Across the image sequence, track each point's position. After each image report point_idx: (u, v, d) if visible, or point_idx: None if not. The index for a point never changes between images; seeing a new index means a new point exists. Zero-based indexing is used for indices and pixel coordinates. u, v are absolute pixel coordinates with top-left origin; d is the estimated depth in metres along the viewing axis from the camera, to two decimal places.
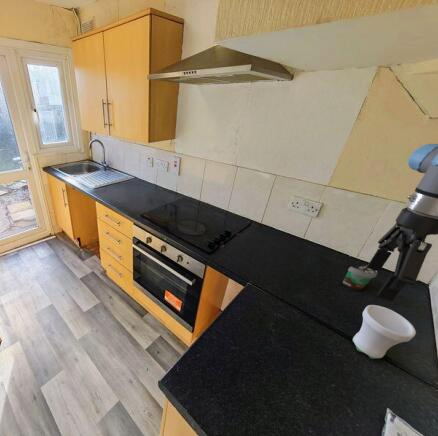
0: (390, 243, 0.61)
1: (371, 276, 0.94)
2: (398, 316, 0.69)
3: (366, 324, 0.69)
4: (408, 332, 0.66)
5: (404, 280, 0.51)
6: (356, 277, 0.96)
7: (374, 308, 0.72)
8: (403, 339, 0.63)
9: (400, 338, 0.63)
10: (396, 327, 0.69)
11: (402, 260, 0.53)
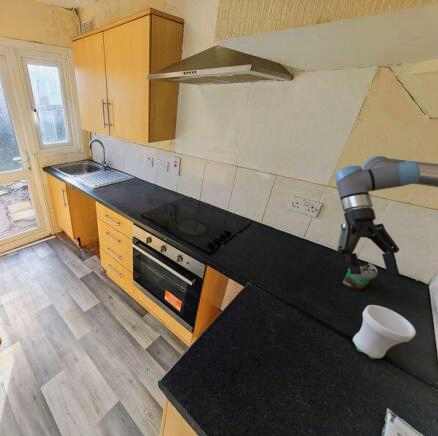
0: (376, 243, 0.75)
1: (371, 276, 0.94)
2: (398, 316, 0.69)
3: (366, 324, 0.69)
4: (408, 332, 0.66)
5: (339, 249, 0.73)
6: (356, 277, 0.96)
7: (374, 308, 0.72)
8: (403, 339, 0.63)
9: (400, 338, 0.63)
10: (396, 327, 0.69)
11: None
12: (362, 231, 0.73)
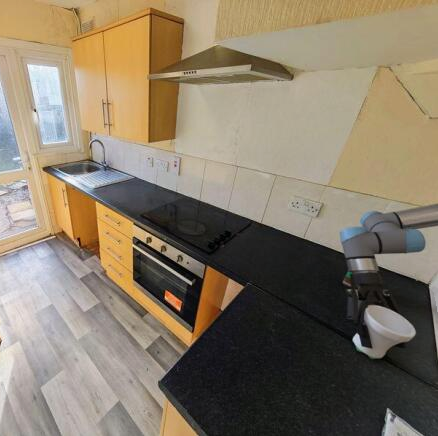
0: None
1: None
2: (398, 316, 0.69)
3: (366, 324, 0.69)
4: (408, 332, 0.66)
5: (349, 319, 0.71)
6: None
7: (374, 308, 0.72)
8: (403, 339, 0.63)
9: (400, 338, 0.63)
10: (396, 327, 0.69)
11: None
12: (368, 297, 0.71)
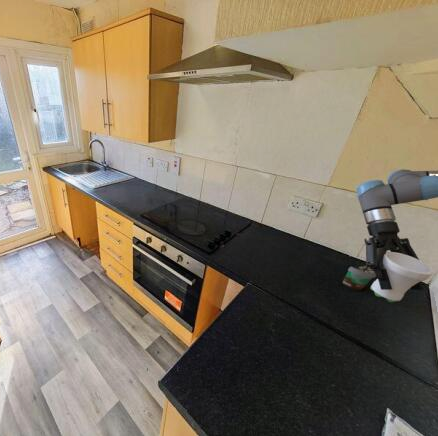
0: None
1: (371, 276, 0.94)
2: (415, 260, 0.73)
3: (385, 268, 0.73)
4: (426, 272, 0.70)
5: (368, 264, 0.75)
6: (356, 277, 0.96)
7: (392, 255, 0.76)
8: (422, 277, 0.67)
9: (419, 276, 0.67)
10: (413, 271, 0.73)
11: None
12: (386, 244, 0.75)
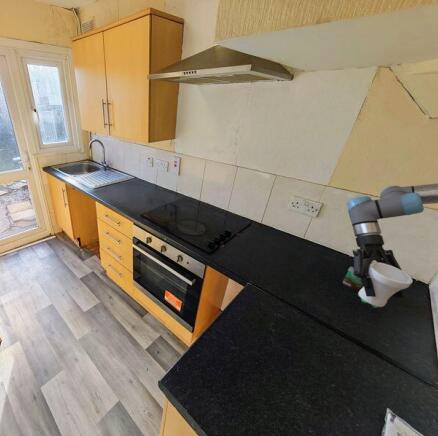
0: None
1: None
2: (397, 270, 0.81)
3: (370, 277, 0.81)
4: (406, 282, 0.78)
5: (355, 273, 0.83)
6: (356, 277, 0.96)
7: (377, 265, 0.84)
8: (402, 286, 0.75)
9: (399, 285, 0.75)
10: (396, 280, 0.81)
11: None
12: (372, 255, 0.83)
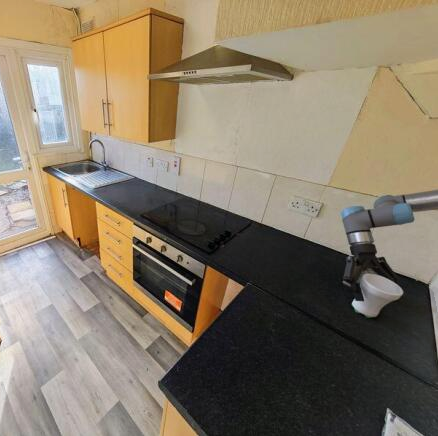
0: (378, 273, 0.87)
1: None
2: (389, 281, 0.83)
3: (363, 288, 0.84)
4: (397, 293, 0.80)
5: (345, 278, 0.85)
6: None
7: (369, 276, 0.86)
8: (393, 298, 0.78)
9: (390, 297, 0.77)
10: (388, 291, 0.84)
11: None
12: (365, 263, 0.86)
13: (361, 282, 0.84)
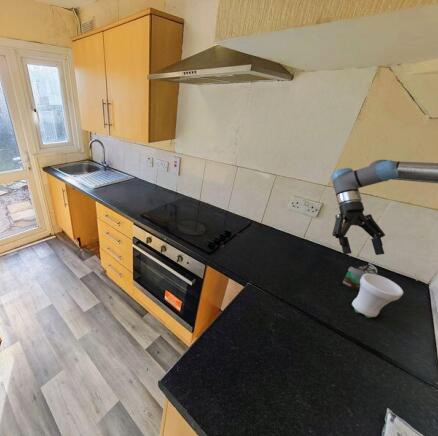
0: (365, 230, 0.93)
1: None
2: (389, 281, 0.83)
3: (363, 288, 0.84)
4: (397, 293, 0.80)
5: (333, 233, 0.91)
6: (356, 277, 0.96)
7: (369, 276, 0.86)
8: (393, 298, 0.77)
9: (390, 297, 0.77)
10: (388, 291, 0.84)
11: (341, 228, 0.93)
12: (352, 220, 0.91)
13: (361, 282, 0.84)
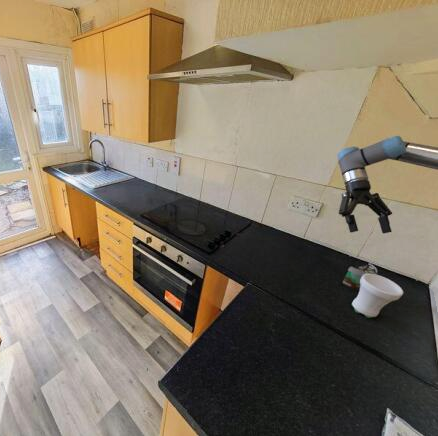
0: (372, 208, 0.92)
1: None
2: (389, 281, 0.83)
3: (363, 288, 0.84)
4: (397, 293, 0.80)
5: (340, 212, 0.90)
6: (356, 277, 0.96)
7: (369, 276, 0.86)
8: (393, 298, 0.77)
9: (390, 297, 0.77)
10: (388, 291, 0.84)
11: (348, 206, 0.91)
12: (359, 198, 0.90)
13: (361, 282, 0.84)
